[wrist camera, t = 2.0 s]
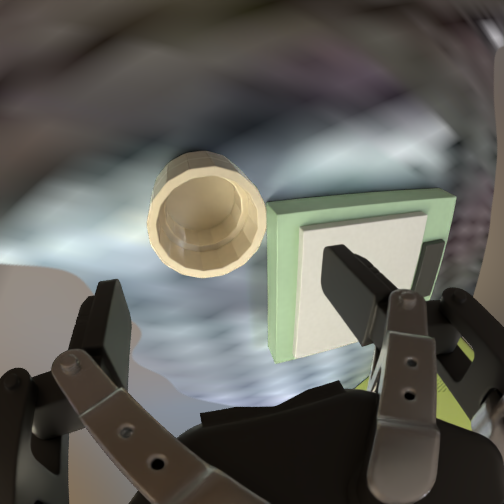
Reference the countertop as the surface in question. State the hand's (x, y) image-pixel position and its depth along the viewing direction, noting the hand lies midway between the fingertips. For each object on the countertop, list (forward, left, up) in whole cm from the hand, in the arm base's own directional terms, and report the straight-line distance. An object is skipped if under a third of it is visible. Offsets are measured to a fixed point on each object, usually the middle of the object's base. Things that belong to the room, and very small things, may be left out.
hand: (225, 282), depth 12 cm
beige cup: (0, 0, -10) cm, 10 cm away
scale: (+8, +13, -10) cm, 18 cm away
